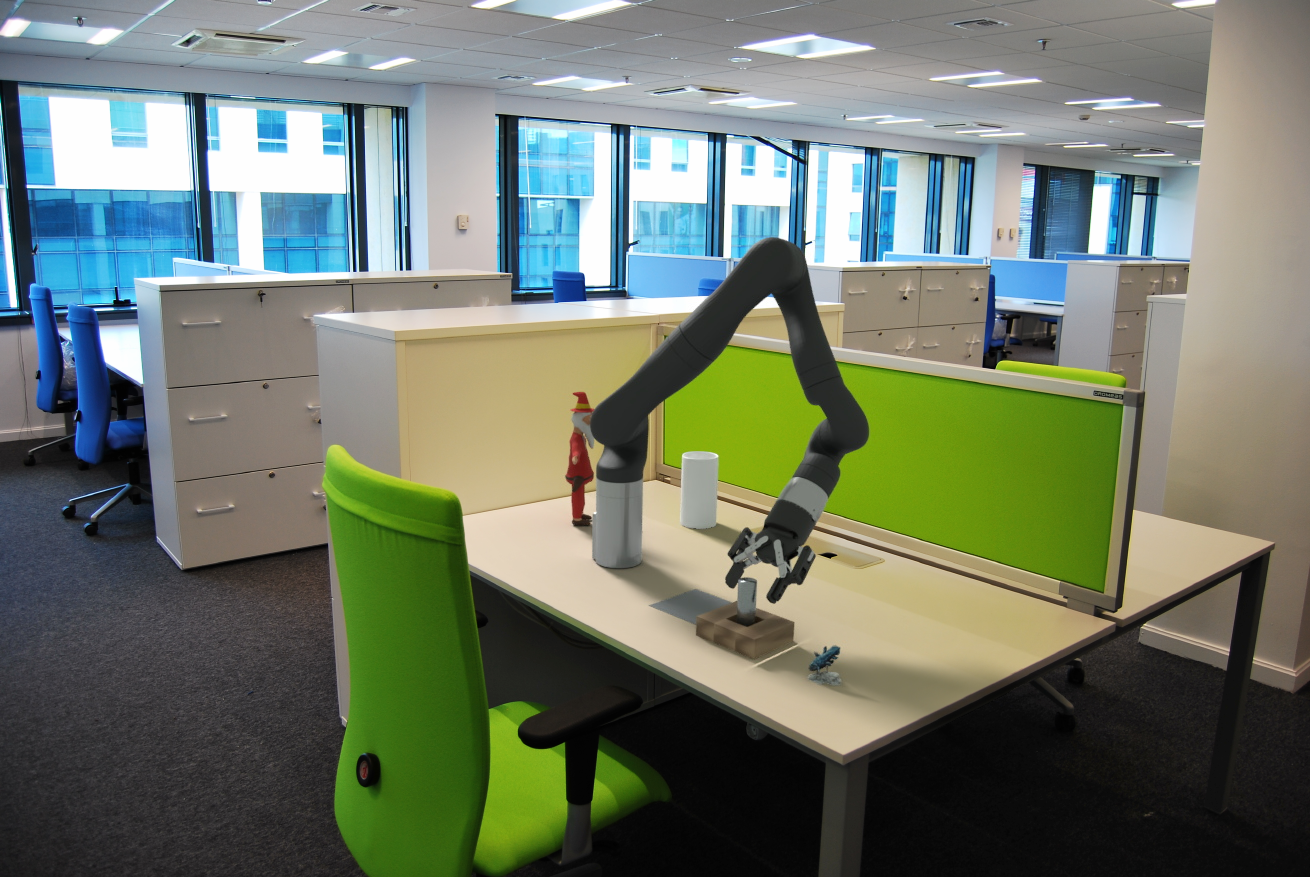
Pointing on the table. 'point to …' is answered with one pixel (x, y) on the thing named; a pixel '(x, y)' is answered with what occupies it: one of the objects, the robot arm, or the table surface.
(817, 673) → the sculpture
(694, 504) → the cup
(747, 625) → the peg
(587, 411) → the figurine
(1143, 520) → the table surface
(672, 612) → the mat
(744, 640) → the hole block
